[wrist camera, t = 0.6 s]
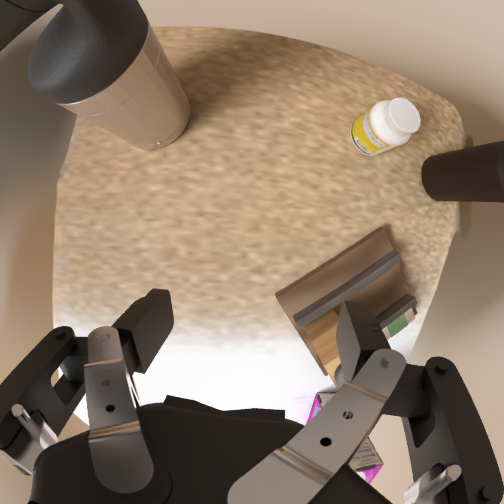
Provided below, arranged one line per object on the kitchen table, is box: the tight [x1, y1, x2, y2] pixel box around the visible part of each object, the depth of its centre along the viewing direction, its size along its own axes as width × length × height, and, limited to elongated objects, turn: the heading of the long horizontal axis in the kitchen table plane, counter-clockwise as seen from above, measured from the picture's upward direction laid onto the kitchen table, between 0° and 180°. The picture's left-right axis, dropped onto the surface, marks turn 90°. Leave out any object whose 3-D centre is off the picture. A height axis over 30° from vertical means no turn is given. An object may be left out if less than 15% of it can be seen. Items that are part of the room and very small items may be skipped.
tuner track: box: [275, 228, 417, 376], centre depth 32 cm, size 14×16×4 cm
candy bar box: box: [306, 393, 384, 484], centre depth 29 cm, size 11×5×16 cm, turn 173°
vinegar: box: [421, 141, 504, 202], centre depth 22 cm, size 7×7×20 cm
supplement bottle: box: [350, 97, 420, 156], centre depth 26 cm, size 5×5×10 cm
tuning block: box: [303, 309, 345, 390], centre depth 27 cm, size 9×4×12 cm, turn 31°
